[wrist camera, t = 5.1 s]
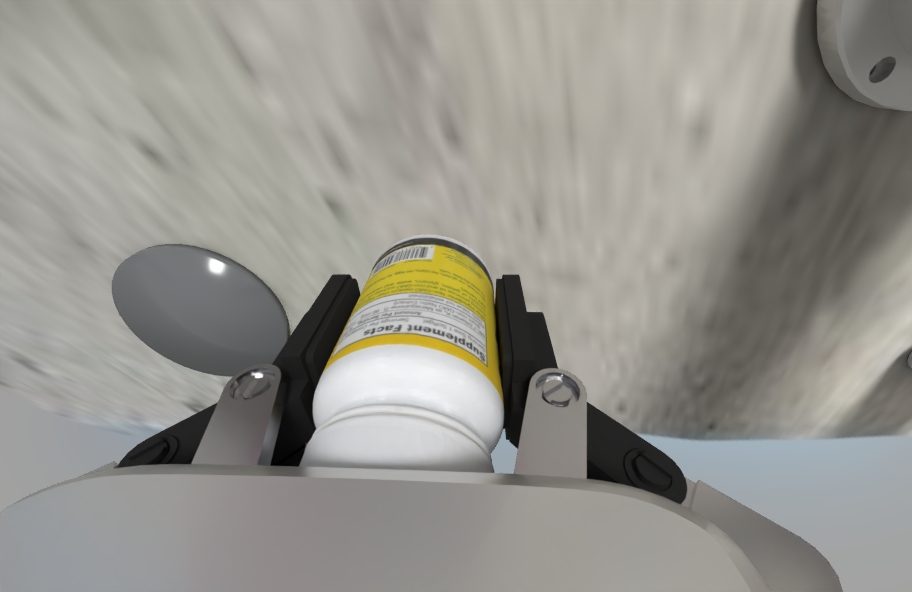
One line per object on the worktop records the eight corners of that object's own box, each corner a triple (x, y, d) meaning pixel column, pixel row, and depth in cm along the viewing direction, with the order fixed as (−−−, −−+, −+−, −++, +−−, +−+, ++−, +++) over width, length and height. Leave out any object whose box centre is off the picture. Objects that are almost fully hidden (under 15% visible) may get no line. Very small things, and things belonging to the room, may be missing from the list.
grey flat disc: (258, 241, 19) (252, 246, 18) (306, 368, 24) (303, 375, 24) (82, 246, 19) (72, 250, 18) (170, 371, 25) (165, 377, 24)
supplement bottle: (459, 346, 15) (446, 588, 8) (358, 306, 14) (244, 545, 7) (517, 263, 12) (568, 516, 6) (398, 207, 11) (280, 431, 5)
